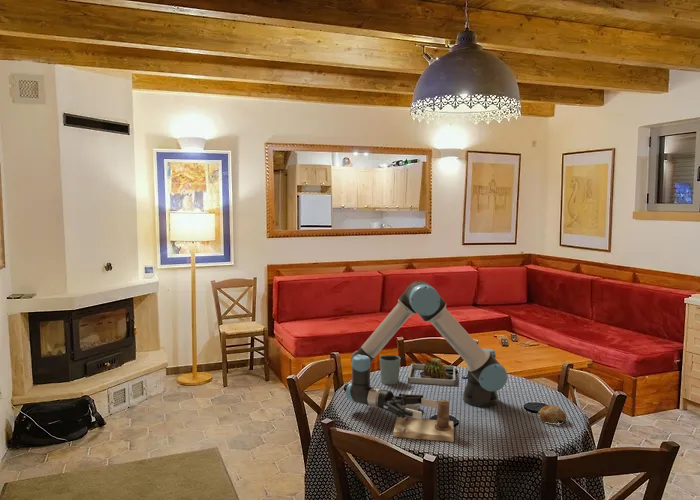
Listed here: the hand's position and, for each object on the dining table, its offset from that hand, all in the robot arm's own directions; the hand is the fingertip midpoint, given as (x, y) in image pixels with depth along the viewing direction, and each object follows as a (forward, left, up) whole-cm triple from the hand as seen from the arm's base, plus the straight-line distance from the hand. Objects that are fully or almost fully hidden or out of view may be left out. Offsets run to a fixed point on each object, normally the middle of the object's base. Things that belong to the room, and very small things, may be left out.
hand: (429, 410), depth 209 cm
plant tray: (+1, -66, -8) cm, 66 cm away
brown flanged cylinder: (-5, +2, -6) cm, 8 cm away
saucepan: (+10, -23, -8) cm, 26 cm away
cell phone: (-21, -66, -9) cm, 70 cm away
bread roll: (-48, -19, -8) cm, 52 cm away
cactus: (-1, -66, -8) cm, 67 cm away
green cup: (+21, -54, -8) cm, 58 cm away
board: (+2, +2, -8) cm, 8 cm away
